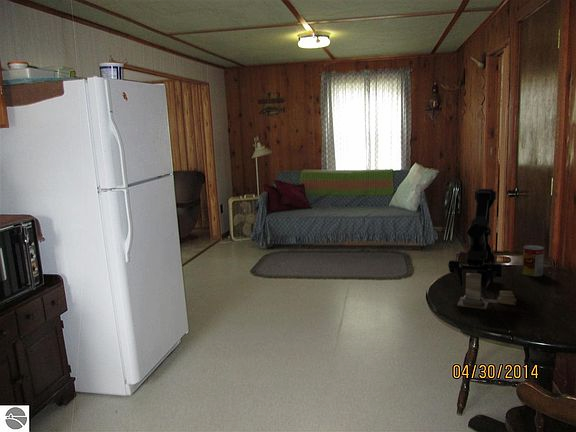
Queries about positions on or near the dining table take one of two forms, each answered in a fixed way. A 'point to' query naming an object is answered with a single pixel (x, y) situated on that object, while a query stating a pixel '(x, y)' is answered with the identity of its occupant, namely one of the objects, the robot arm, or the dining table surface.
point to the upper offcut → (506, 295)
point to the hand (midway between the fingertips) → (472, 288)
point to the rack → (478, 302)
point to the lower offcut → (505, 301)
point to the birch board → (473, 286)
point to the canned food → (533, 260)
